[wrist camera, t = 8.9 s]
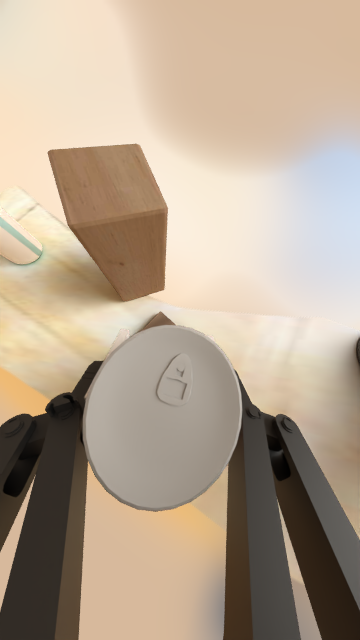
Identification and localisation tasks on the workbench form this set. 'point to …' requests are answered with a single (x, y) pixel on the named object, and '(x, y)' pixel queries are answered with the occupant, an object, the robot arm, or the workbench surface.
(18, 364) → the workbench surface
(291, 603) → the robot arm
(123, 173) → the wooden block
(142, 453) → the canned food
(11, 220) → the can
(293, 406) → the workbench surface
